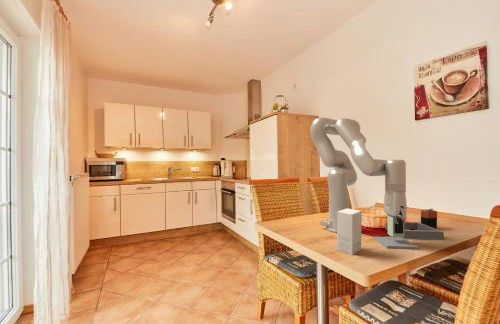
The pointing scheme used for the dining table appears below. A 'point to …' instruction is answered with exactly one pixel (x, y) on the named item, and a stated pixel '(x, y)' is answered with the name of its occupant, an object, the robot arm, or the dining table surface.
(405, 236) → the grey square frame
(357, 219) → the skincare box
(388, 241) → the mat
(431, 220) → the battery
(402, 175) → the robot arm
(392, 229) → the green box
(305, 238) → the dining table surface
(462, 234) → the dining table surface
